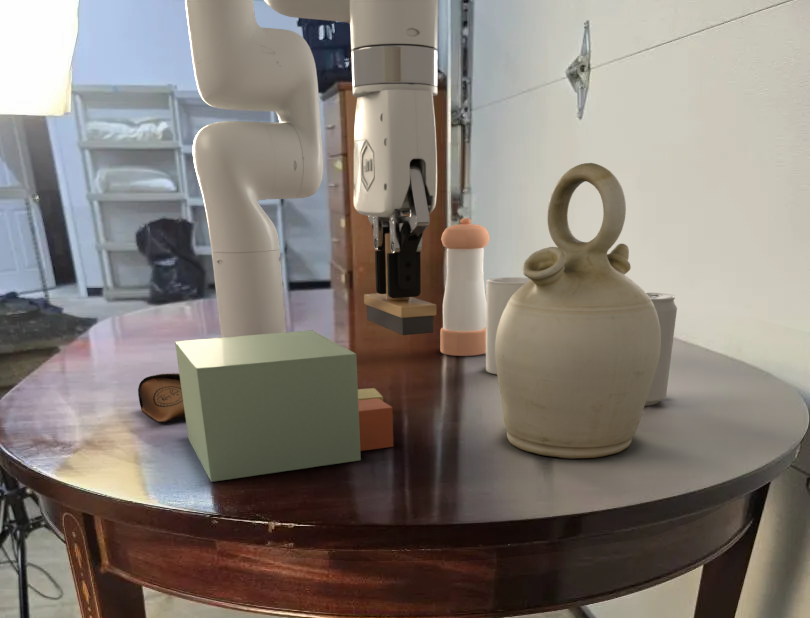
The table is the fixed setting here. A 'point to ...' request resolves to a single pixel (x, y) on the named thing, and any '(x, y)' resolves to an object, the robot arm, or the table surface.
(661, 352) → the beverage can
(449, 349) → the salt shaker
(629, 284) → the jug
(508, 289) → the mug
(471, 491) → the table surface
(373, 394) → the mustard yellow block
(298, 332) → the green box
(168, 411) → the sunglasses case
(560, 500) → the table surface
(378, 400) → the terracotta block
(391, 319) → the brush
